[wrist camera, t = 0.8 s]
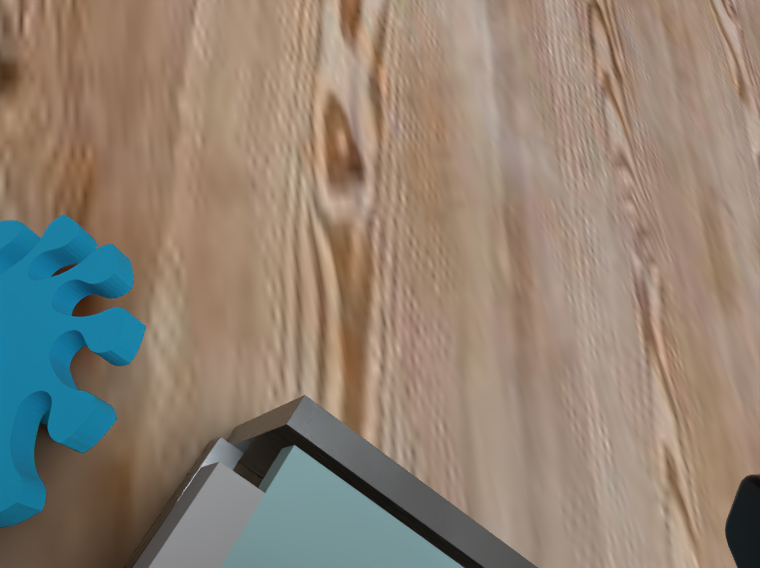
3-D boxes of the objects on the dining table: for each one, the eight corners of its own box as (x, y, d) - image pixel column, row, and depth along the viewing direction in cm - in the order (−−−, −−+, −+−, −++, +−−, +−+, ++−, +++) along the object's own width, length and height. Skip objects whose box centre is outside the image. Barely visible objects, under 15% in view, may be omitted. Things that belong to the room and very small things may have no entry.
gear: (-41, 177, 21) (183, 238, 17) (79, 273, 26) (277, 340, 21) (-321, 501, 17) (-122, 698, 12) (-117, 543, 22) (80, 696, 17)
